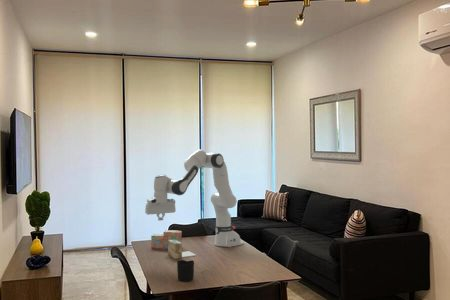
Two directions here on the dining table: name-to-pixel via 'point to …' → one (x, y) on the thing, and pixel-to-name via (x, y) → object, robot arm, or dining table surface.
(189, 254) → the felt mat
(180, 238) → the stack of blocks
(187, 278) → the pen holder
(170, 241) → the oak block
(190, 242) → the dining table surface
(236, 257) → the dining table surface
